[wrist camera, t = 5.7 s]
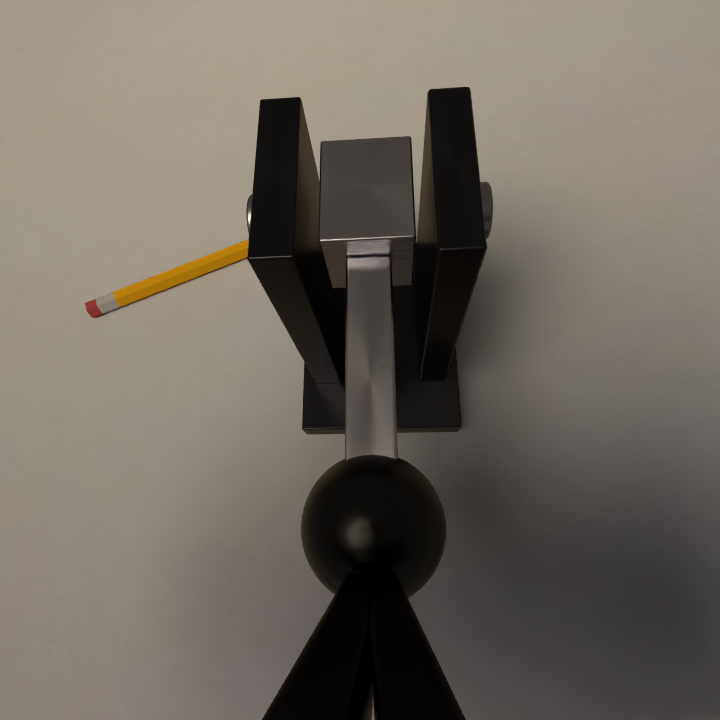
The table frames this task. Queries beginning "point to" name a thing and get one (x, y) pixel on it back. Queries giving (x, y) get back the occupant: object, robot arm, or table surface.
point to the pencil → (167, 279)
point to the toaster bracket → (410, 302)
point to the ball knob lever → (370, 375)
